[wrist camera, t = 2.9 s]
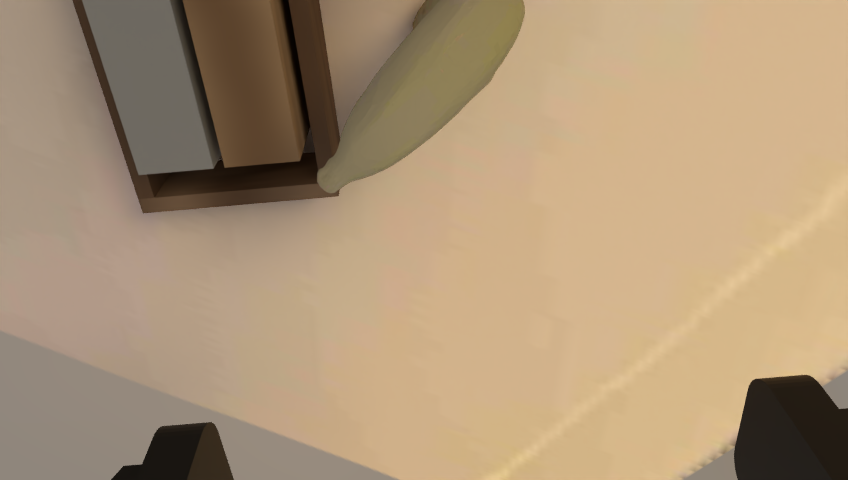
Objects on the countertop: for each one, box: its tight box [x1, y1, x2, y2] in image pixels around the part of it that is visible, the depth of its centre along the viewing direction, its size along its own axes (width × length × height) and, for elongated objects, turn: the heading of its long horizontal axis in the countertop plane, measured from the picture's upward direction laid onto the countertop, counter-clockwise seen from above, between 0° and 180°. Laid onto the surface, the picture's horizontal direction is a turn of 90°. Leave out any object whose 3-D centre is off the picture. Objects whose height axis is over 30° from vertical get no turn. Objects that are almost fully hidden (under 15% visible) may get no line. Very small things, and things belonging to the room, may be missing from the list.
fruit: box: [317, 0, 525, 193], centre depth 27 cm, size 7×15×3 cm
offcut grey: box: [82, 0, 221, 175], centre depth 32 cm, size 4×9×6 cm, turn 4°
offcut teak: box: [183, 0, 310, 168], centre depth 32 cm, size 4×9×6 cm, turn 5°
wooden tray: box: [73, 0, 340, 213], centre depth 33 cm, size 10×15×4 cm
